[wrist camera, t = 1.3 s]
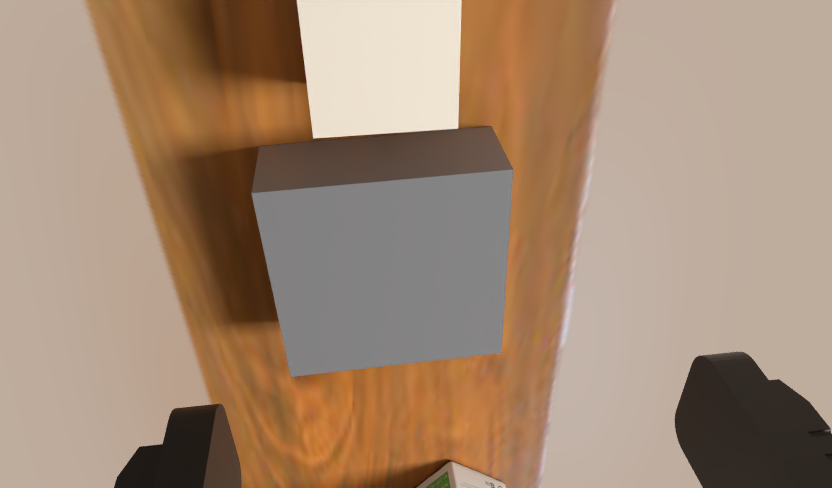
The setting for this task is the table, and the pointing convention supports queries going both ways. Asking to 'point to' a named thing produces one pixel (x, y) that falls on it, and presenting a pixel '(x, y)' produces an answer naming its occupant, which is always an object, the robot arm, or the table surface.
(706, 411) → the robot arm
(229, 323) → the table surface
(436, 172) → the slate block
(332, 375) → the table surface
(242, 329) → the table surface
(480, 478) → the skincare box
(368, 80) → the cream block
